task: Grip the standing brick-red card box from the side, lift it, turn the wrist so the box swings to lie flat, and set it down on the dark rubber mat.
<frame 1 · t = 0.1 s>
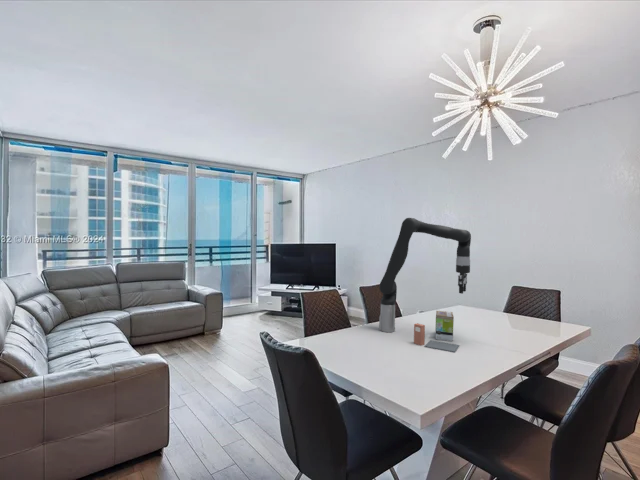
hand: (462, 292, 195), 29 cm above the table, tool pointing down, fingers open, 8 cm apart
card box: (419, 343, 192), on the table
tea box: (444, 337, 206), on the table
mat: (442, 346, 188), on the table
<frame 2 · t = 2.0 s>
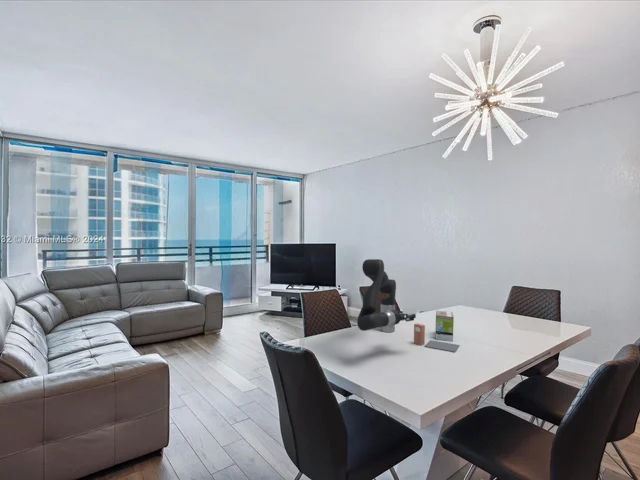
hand: (408, 314, 185), 18 cm above the table, tool horizontal, fingers open, 8 cm apart
nothing on the table moved.
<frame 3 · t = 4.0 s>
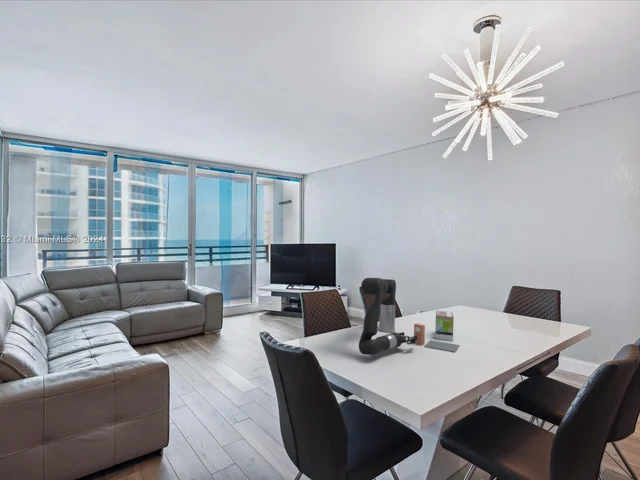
hand: (410, 335, 187), 6 cm above the table, tool horizontal, fingers open, 8 cm apart
nothing on the table moved.
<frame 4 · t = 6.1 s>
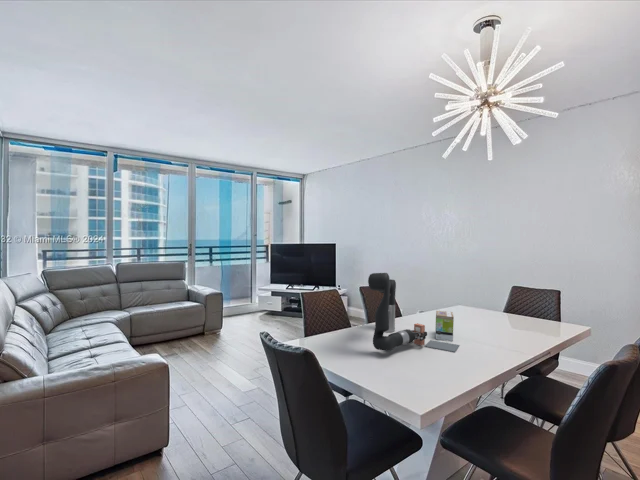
hand: (422, 332, 194), 6 cm above the table, tool horizontal, fingers closed on card box, 5 cm apart
card box: (419, 343, 192), on the table, touching gripper
everything else where it was.
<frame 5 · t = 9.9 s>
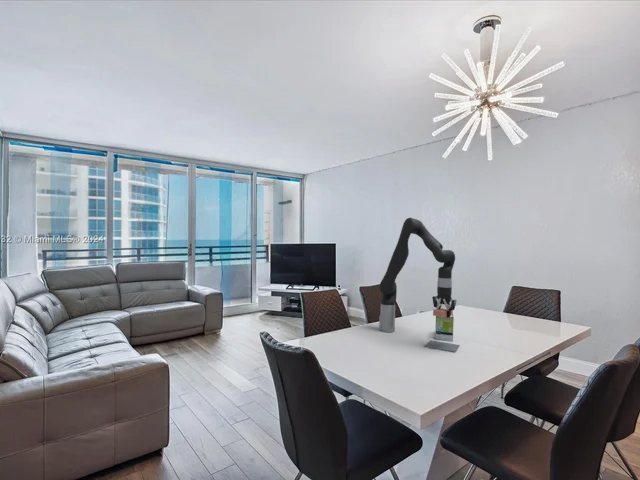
hand: (443, 316, 188), 17 cm above the table, tool pointing down, fingers closed on card box, 5 cm apart
card box: (437, 313, 184), point 19 cm above the table, tilted 90°, touching gripper
everything else where it was.
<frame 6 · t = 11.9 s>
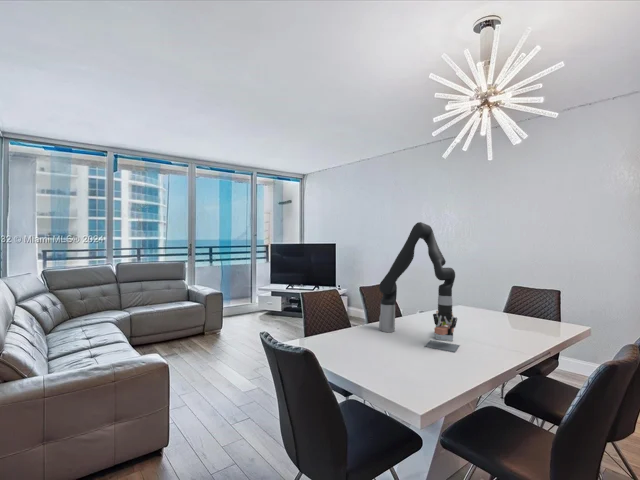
hand: (444, 333, 188), 7 cm above the table, tool pointing down, fingers closed on card box, 5 cm apart
card box: (438, 331, 184), point 9 cm above the table, tilted 90°, touching gripper
everything else where it was.
when the fingers open (2 cm above the table, at t = 13.6 s): card box drops 2 cm, resting on mat.
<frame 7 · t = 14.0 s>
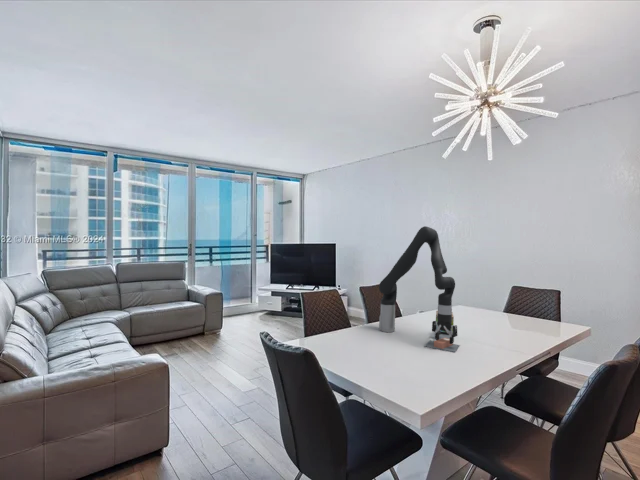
hand: (444, 341, 188), 3 cm above the table, tool pointing down, fingers open, 8 cm apart
card box: (438, 344, 184), point 2 cm above the table, tilted 90°, touching mat
everything else where it was.
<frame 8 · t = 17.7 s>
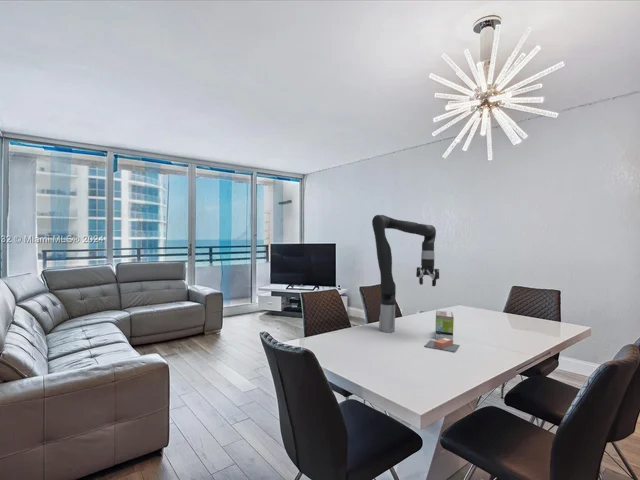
hand: (427, 285, 202), 32 cm above the table, tool pointing down, fingers open, 8 cm apart
nothing on the table moved.
at the end: card box inside the target area on the mat (5.5 cm from its centre), point 2.1 cm above the mat's base; card box tilted 90°; the gripper is holding nothing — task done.
